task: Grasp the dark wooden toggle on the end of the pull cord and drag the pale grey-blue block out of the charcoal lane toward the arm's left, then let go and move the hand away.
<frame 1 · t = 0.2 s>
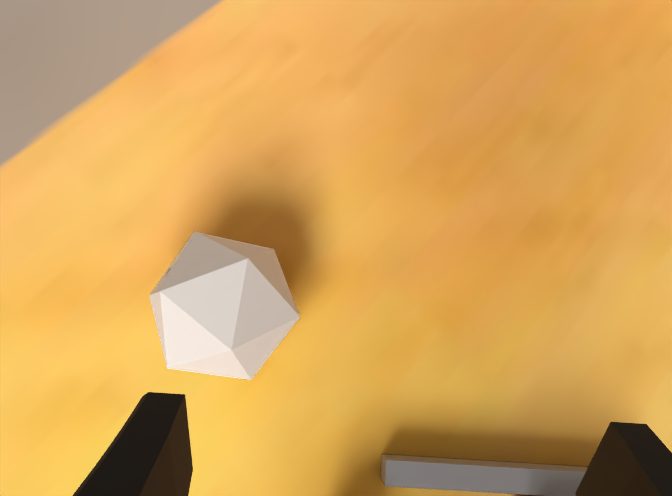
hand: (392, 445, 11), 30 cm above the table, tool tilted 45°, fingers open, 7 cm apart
die: (231, 311, 42), on the table
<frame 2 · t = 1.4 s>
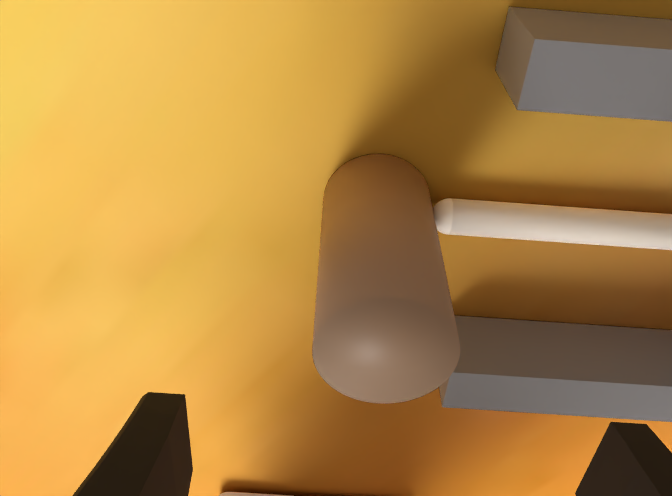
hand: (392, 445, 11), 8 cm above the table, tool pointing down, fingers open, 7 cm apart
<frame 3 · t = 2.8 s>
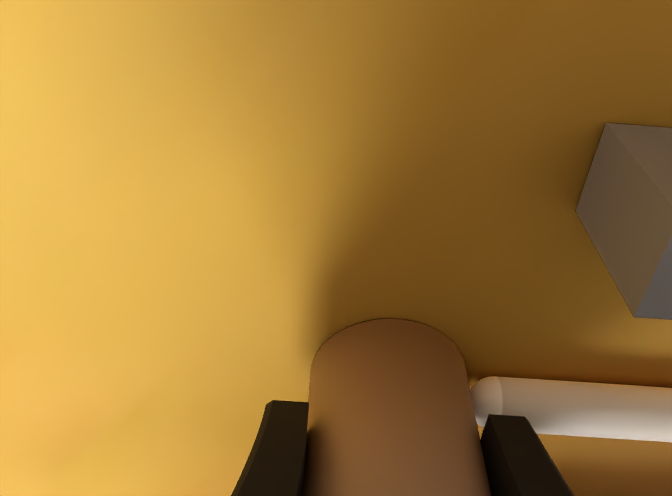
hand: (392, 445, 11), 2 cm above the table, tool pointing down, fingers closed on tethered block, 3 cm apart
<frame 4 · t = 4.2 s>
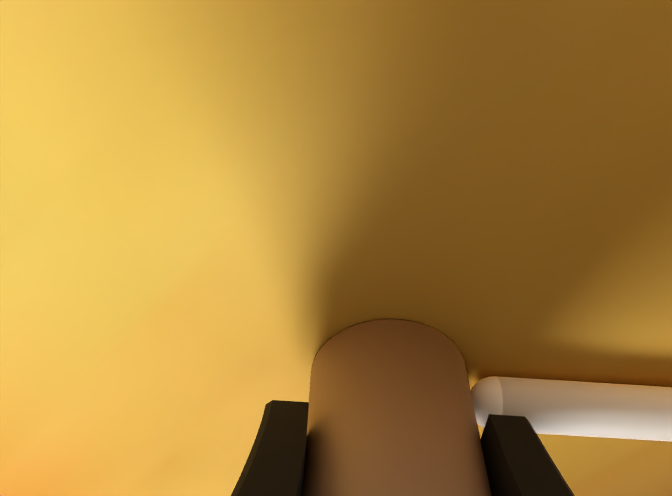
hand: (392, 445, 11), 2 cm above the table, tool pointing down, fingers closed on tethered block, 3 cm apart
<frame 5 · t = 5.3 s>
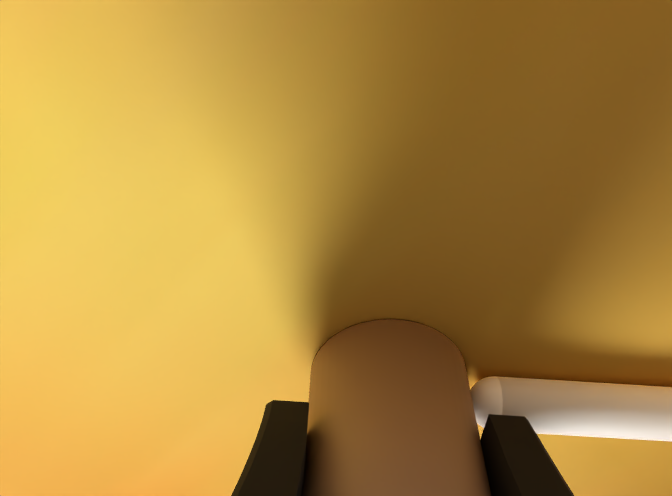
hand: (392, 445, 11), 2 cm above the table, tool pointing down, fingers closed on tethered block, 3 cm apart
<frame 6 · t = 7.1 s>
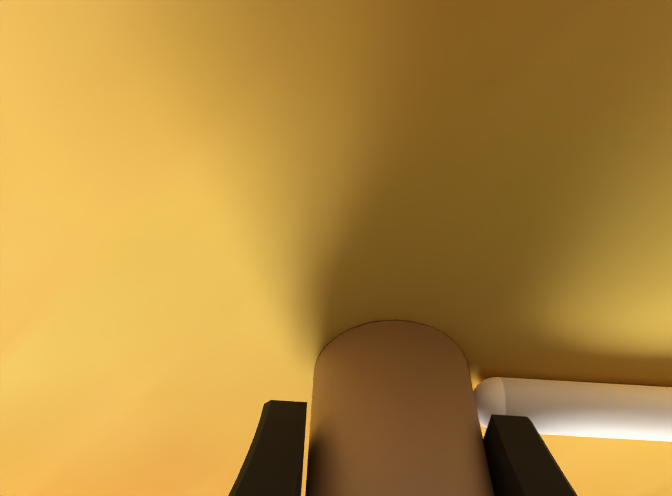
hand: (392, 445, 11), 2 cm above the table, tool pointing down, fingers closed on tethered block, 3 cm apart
when the fingers open (2 cm above the table, at t = 8.2 s): tethered block stays where it is, on the table.
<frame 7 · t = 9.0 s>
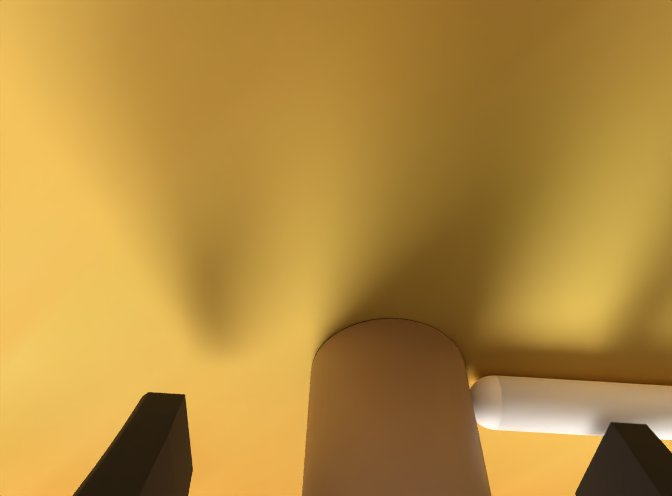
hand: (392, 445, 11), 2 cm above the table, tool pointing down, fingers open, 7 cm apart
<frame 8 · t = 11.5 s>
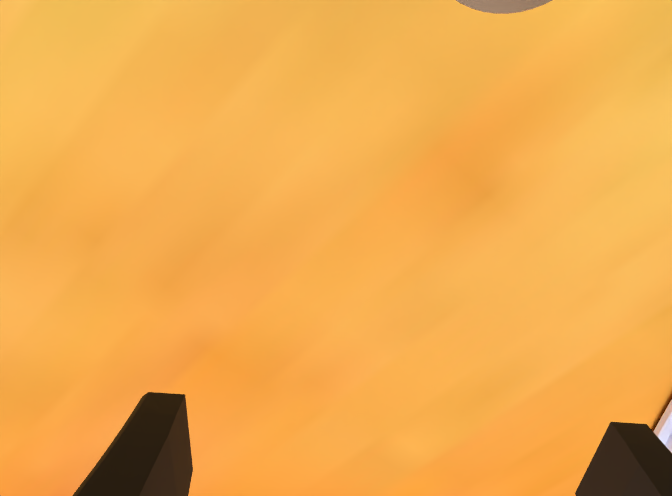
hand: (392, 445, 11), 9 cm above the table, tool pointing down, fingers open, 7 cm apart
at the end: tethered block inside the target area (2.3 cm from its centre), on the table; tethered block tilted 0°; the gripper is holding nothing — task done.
